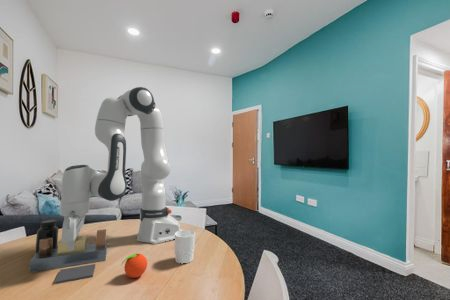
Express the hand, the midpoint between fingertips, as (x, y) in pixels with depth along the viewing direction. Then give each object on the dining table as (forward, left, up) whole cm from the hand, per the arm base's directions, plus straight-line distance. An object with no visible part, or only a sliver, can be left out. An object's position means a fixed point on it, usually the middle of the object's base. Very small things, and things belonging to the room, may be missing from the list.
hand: (73, 246), depth 79 cm
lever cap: (0, 0, -1) cm, 1 cm away
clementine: (-20, +20, -6) cm, 29 cm away
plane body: (0, 0, -5) cm, 5 cm away
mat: (-3, +11, -5) cm, 13 cm away
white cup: (-38, +15, -6) cm, 41 cm away
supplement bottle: (+11, -14, -6) cm, 19 cm away
